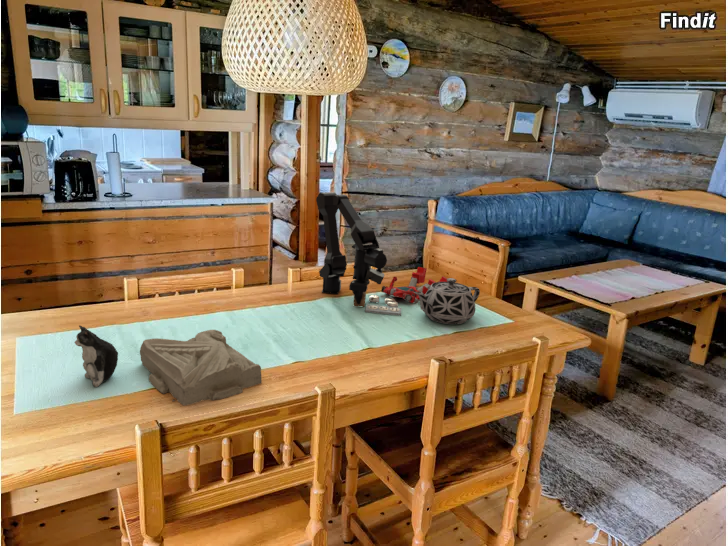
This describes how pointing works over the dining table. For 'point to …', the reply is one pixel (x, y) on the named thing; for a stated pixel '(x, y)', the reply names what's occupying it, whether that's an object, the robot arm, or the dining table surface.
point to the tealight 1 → (374, 298)
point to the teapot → (449, 302)
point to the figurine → (96, 356)
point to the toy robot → (411, 286)
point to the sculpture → (198, 367)
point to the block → (361, 300)
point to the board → (383, 309)
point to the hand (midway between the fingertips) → (359, 302)
